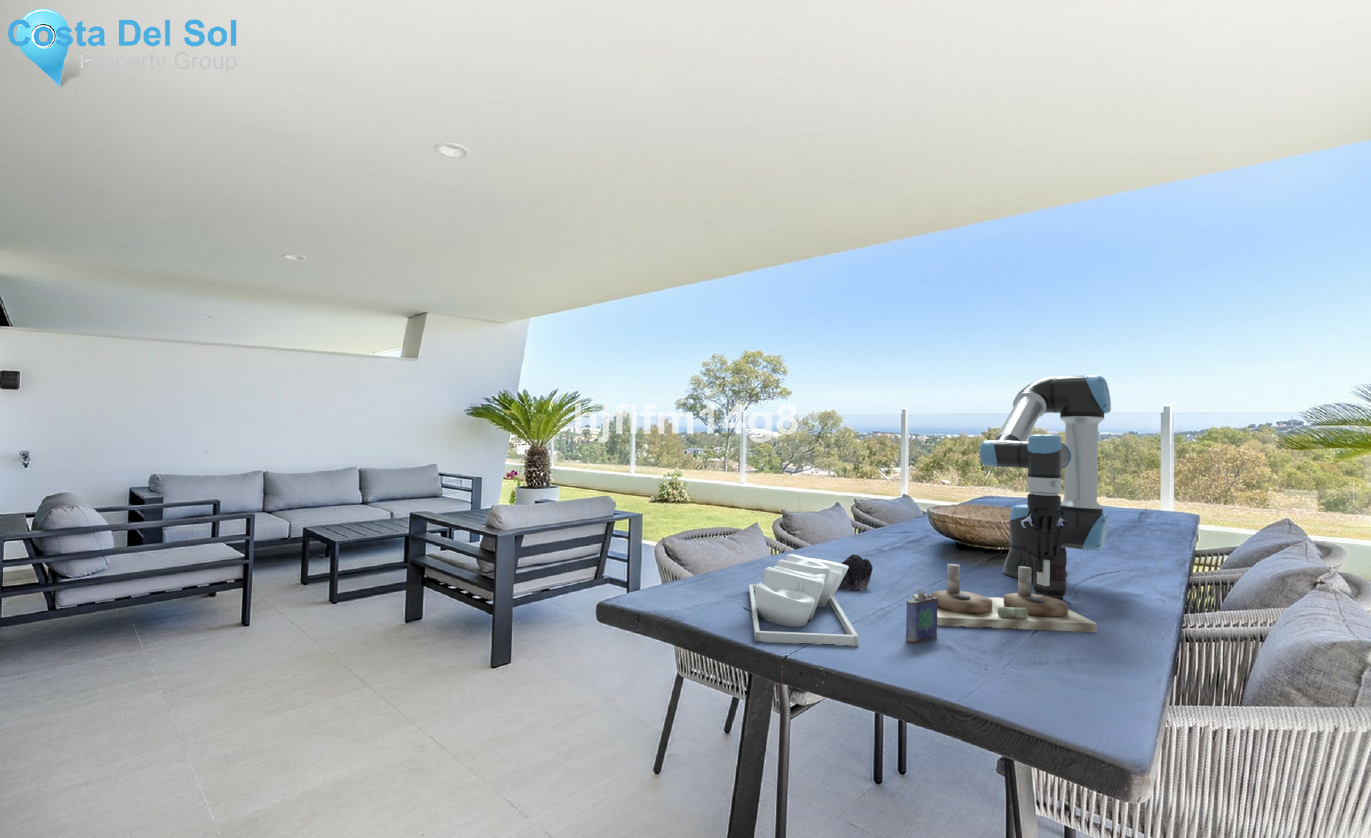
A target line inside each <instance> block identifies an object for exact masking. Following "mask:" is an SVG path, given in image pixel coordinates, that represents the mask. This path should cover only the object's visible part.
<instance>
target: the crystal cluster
mask: <svg viewBox="0 0 1371 838" xmlns="http://www.w3.org/2000/svg"><path fill="white" fill-rule="evenodd" d="M840 564H844V565H847V566H848V567H849V568H848V570H847V572H846V574H845V576H844V578H843V580H842V582H841V583H840V585H839V587H838V588H839V589H838V590H841V589H852V590H851V591H854V590H855V591H858V590H857V589H864V590H865V589H867V588H868V586H869V583H870V582H871V577H872V572H873V569H874V568H873V565H872V563H871V561H870V560H869V559H868V558H864V559H863V558H862V556H859V555H858V554H851V555H850V556H849V557H847V558H846V559H845V560H844V561H842V562H840Z"/></svg>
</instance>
